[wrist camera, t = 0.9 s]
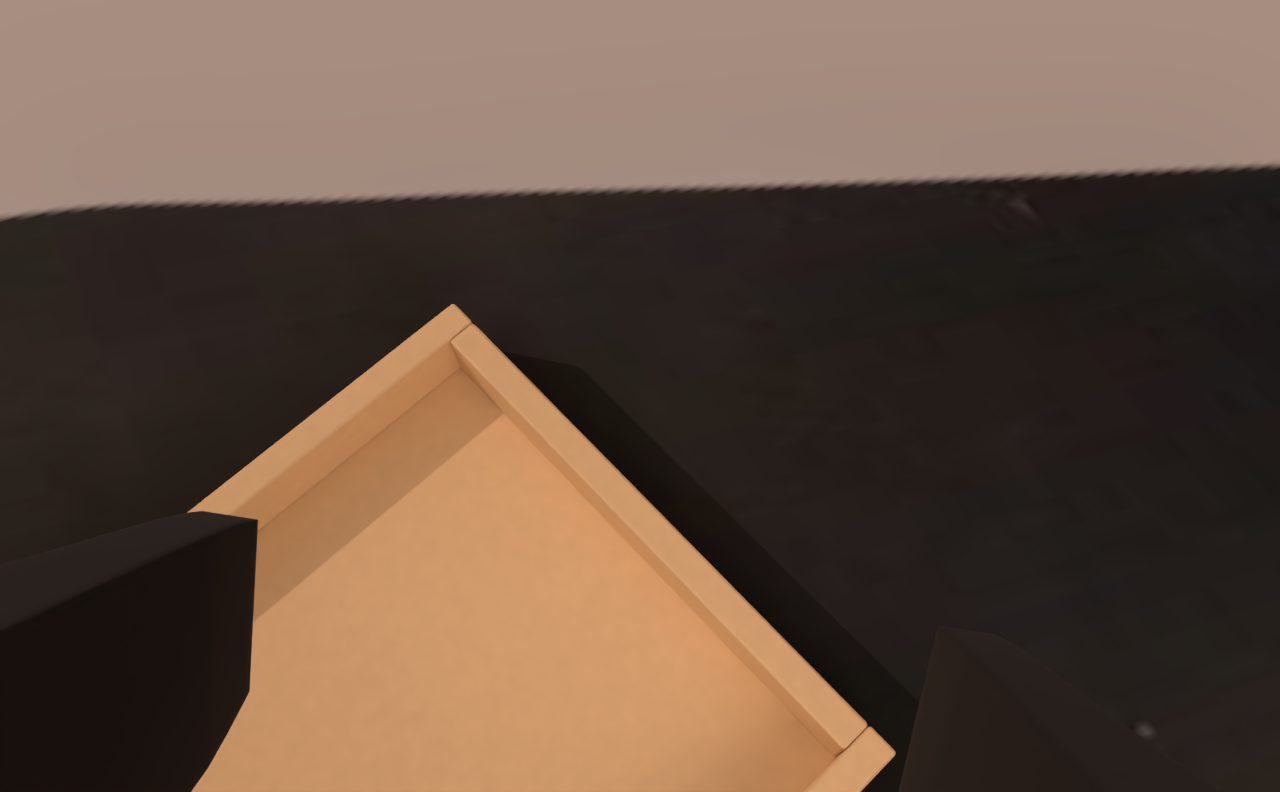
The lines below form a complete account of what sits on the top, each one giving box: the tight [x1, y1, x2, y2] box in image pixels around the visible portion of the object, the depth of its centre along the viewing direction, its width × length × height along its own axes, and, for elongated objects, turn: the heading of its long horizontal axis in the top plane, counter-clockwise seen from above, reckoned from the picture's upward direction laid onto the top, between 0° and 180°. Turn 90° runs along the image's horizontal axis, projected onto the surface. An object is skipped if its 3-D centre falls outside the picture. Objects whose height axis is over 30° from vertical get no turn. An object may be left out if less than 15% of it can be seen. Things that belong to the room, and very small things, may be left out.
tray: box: [187, 304, 895, 792], centre depth 22 cm, size 13×12×2 cm
